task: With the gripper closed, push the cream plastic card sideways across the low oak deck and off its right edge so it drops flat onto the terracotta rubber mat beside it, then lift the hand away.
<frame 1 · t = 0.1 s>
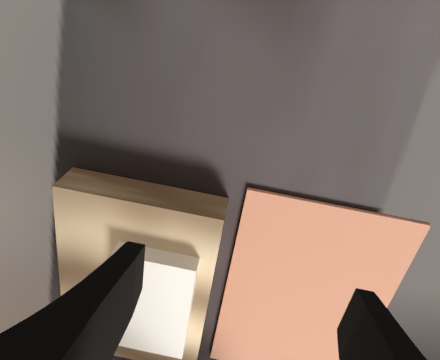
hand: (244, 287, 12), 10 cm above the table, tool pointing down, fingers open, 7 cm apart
mat: (302, 298, 26), on the table
deck: (144, 266, 26), on the table
card: (154, 296, 24), point 2 cm above the table, touching deck
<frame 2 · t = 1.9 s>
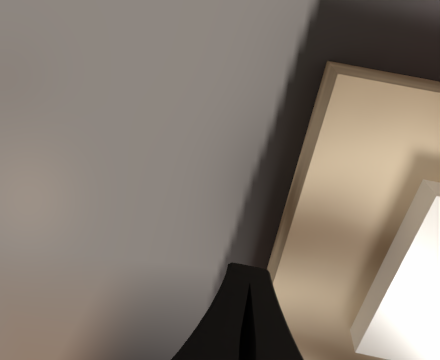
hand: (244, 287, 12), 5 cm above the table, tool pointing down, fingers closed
deck: (388, 233, 17), on the table
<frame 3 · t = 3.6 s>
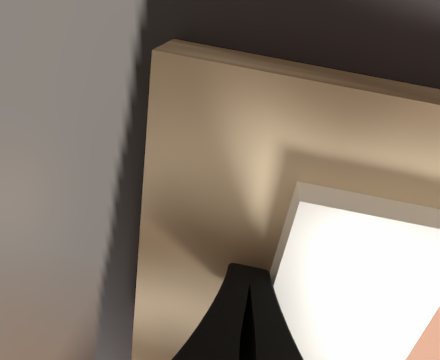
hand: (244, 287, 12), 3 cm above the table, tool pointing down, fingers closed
deck: (274, 237, 15), on the table
card: (337, 292, 13), point 3 cm above the table, touching gripper
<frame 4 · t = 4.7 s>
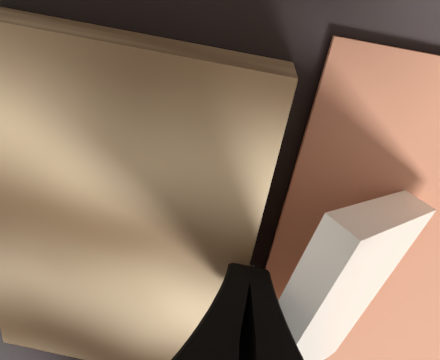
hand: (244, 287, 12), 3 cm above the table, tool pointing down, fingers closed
mat: (405, 264, 15), on the table
deck: (134, 208, 15), on the table
card: (318, 286, 13), point 2 cm above the table, tilted 44°, touching mat
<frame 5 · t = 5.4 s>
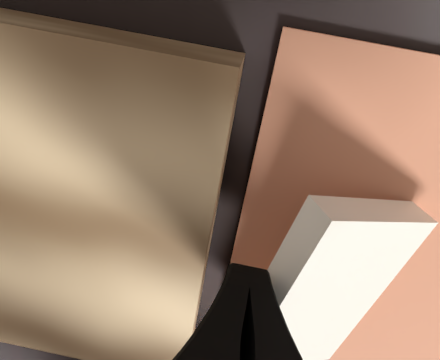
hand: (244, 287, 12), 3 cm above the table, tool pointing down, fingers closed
mat: (367, 256, 15), on the table
deck: (98, 201, 15), on the table
card: (312, 280, 14), point 2 cm above the table, tilted 30°, touching gripper, mat
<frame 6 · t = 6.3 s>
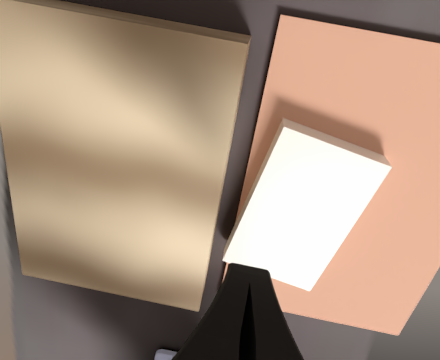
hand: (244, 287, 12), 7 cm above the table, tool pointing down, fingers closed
mat: (350, 204, 18), on the table
deck: (129, 160, 19), on the table
card: (296, 205, 18), resting on mat
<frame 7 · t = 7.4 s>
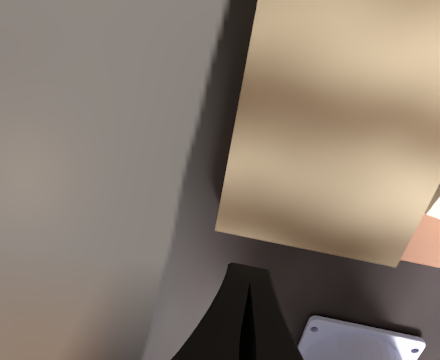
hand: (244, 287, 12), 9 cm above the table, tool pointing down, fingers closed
deck: (337, 112, 19), on the table
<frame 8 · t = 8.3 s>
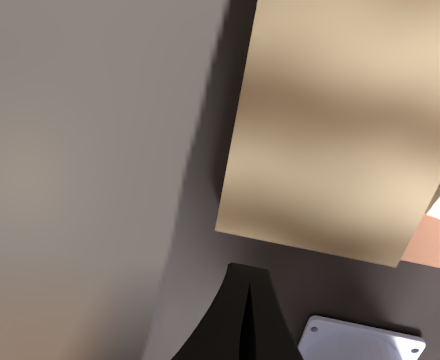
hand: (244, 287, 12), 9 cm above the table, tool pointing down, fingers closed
deck: (337, 112, 19), on the table
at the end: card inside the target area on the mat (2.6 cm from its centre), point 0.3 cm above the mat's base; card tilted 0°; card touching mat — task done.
